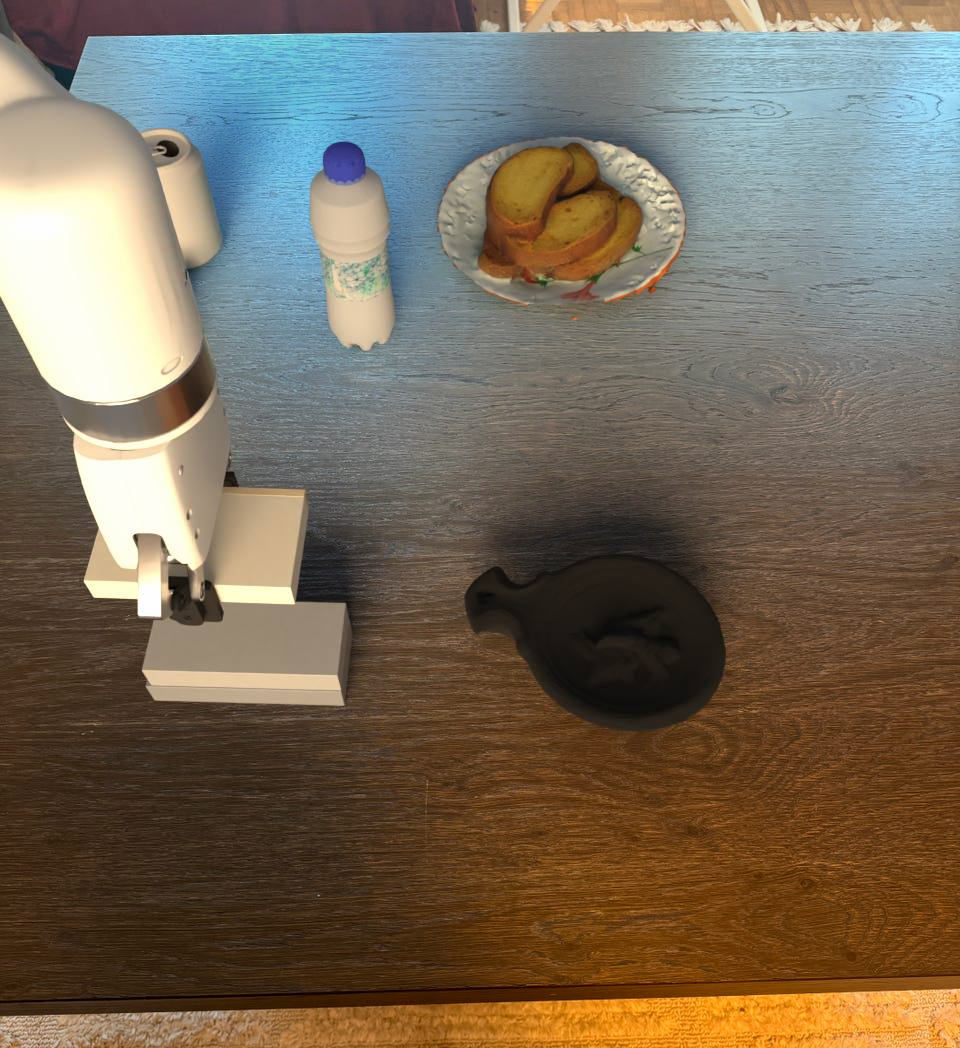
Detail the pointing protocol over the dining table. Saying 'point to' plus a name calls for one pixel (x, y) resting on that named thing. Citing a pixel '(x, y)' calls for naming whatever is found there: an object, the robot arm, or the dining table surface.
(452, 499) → the dining table surface
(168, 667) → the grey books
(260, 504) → the cream flat block
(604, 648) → the oil lamp
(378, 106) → the dining table surface
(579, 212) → the food on plate
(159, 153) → the can
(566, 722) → the dining table surface
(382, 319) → the bottle
